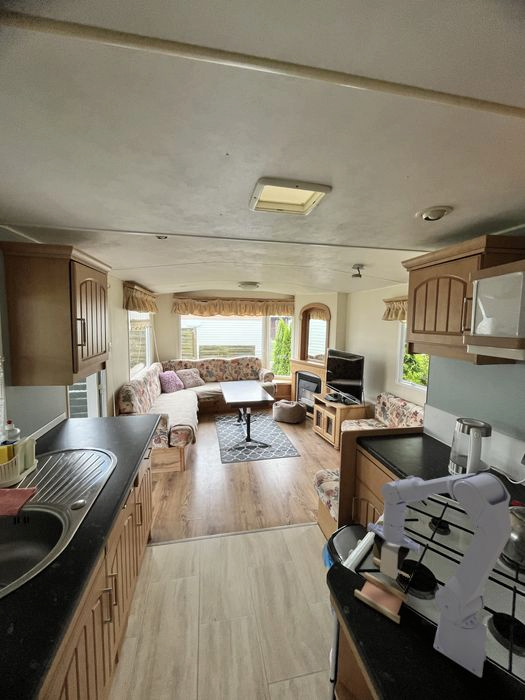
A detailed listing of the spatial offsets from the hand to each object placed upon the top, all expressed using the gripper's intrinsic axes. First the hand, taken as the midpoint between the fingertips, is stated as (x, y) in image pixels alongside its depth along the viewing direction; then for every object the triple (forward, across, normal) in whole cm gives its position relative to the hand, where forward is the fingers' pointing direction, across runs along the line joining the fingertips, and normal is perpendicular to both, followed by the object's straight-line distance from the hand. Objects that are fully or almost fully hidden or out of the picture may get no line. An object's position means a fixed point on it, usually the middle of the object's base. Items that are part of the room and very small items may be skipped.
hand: (390, 563), depth 89 cm
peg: (+2, 0, 0) cm, 2 cm away
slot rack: (+6, 0, +4) cm, 7 cm away
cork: (+6, +5, -9) cm, 12 cm away
